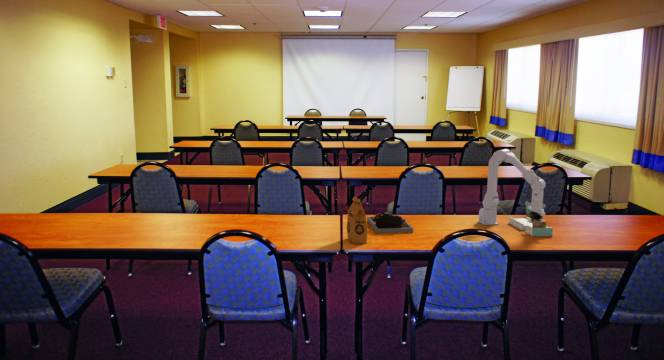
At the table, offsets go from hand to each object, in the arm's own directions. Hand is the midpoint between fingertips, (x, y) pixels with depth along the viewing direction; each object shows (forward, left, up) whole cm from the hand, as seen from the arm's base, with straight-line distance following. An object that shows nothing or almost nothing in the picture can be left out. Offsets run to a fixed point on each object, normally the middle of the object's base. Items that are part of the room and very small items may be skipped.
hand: (535, 225), depth 280 cm
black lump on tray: (-78, +16, -4) cm, 80 cm away
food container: (+13, +26, -4) cm, 29 cm away
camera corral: (-77, +20, -3) cm, 80 cm away
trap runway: (0, +6, -3) cm, 7 cm away
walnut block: (0, -4, -1) cm, 4 cm away
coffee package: (-100, -4, -4) cm, 100 cm away
